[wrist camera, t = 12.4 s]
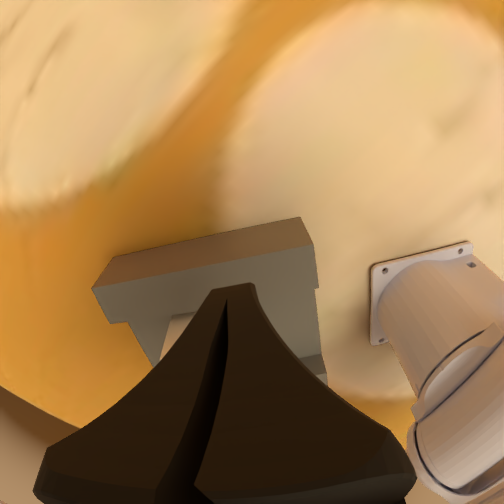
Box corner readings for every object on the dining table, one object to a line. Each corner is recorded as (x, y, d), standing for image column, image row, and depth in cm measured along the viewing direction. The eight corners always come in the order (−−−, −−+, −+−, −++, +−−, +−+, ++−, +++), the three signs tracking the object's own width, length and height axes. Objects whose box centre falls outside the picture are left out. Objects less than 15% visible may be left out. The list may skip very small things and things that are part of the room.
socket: (300, 216, 19) (313, 243, 16) (318, 358, 25) (328, 394, 22) (113, 257, 20) (91, 288, 17) (175, 380, 26) (168, 415, 22)
